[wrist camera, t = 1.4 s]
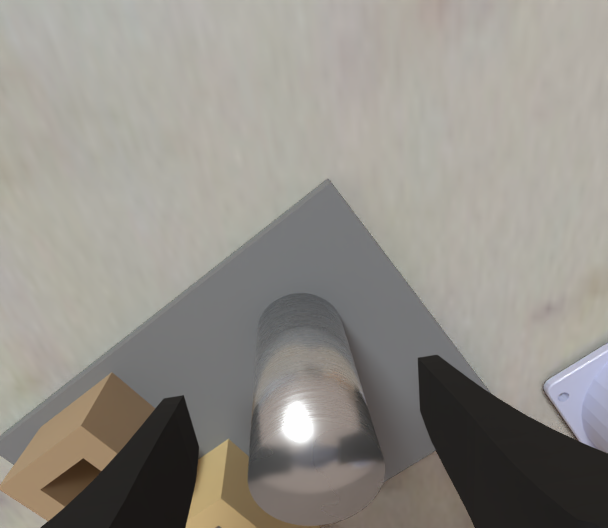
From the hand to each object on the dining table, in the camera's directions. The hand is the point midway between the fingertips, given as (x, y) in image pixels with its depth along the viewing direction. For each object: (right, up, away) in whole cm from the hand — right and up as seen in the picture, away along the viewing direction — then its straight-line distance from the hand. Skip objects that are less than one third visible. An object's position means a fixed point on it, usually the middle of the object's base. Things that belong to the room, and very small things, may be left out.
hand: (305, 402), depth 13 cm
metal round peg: (0, +2, +4) cm, 4 cm away
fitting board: (-2, -3, +6) cm, 7 cm away
